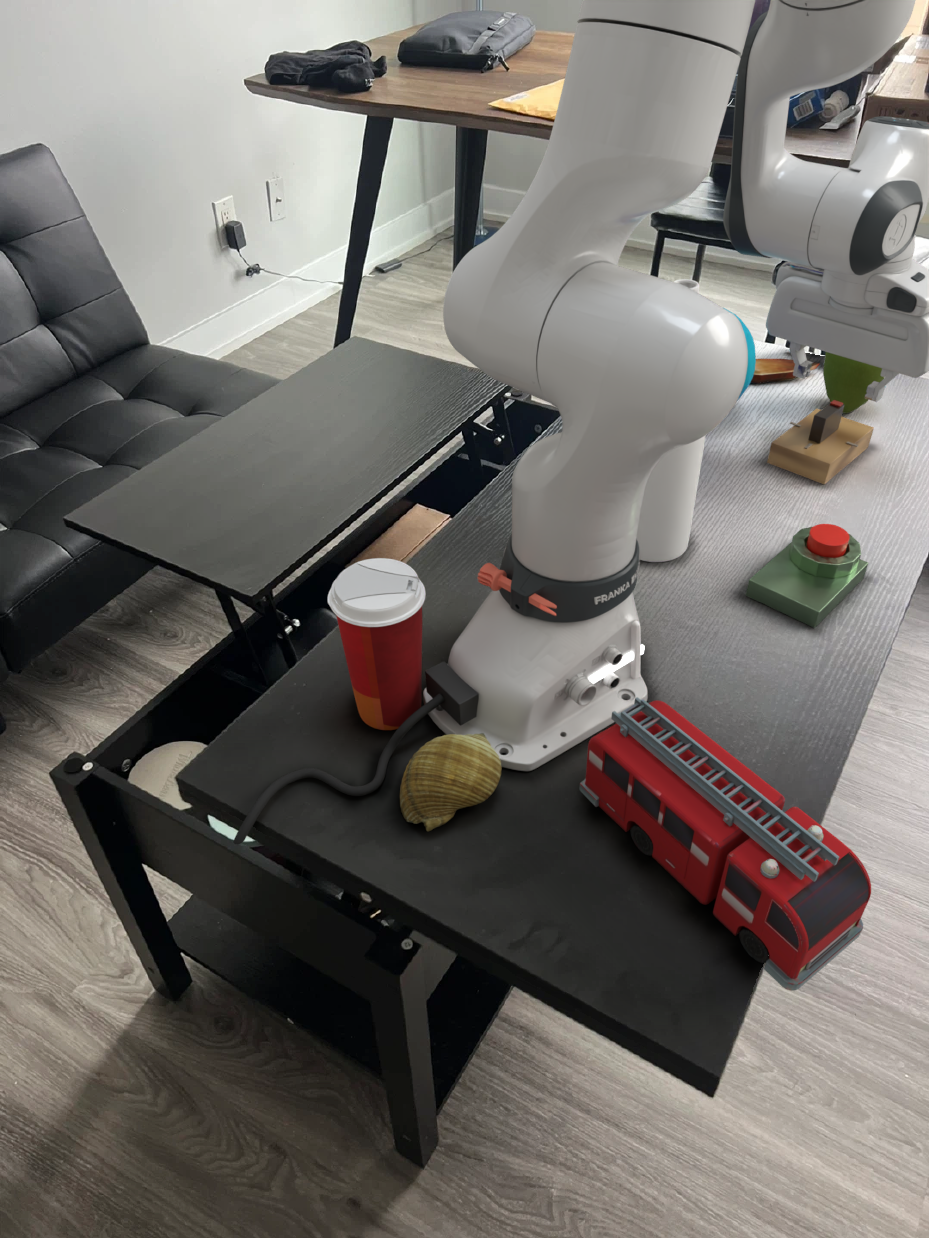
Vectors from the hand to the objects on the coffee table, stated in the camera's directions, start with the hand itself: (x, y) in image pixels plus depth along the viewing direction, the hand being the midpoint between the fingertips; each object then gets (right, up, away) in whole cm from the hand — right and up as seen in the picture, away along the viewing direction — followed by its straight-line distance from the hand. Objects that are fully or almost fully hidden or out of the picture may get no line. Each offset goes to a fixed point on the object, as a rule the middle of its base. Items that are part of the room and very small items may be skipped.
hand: (836, 387), depth 112 cm
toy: (-27, -48, -40) cm, 68 cm away
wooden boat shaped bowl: (0, +9, +22) cm, 24 cm away
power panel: (0, -7, +6) cm, 10 cm away
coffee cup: (-53, -37, -26) cm, 70 cm away
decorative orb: (-14, 0, +16) cm, 21 cm away
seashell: (-47, -44, -34) cm, 73 cm away
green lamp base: (-9, -25, -14) cm, 30 cm away
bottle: (-24, -20, -7) cm, 32 cm away
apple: (+7, +1, +15) cm, 17 cm away
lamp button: (-7, -21, -15) cm, 27 cm away
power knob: (0, -5, +4) cm, 6 cm away
